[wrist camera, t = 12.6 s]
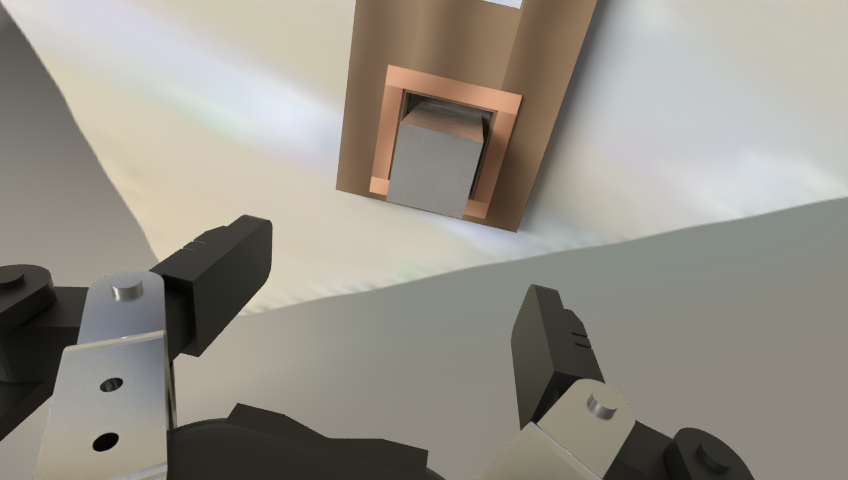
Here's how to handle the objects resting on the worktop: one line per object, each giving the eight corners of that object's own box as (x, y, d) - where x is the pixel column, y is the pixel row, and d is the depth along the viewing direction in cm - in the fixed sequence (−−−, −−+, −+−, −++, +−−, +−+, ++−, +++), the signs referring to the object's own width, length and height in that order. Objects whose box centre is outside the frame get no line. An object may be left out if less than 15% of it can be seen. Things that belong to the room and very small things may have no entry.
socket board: (633, -134, 22) (653, -157, 20) (513, 219, 32) (516, 234, 30) (389, -189, 22) (377, -218, 20) (345, 179, 32) (334, 190, 30)
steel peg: (481, 115, 29) (483, 142, 21) (466, 173, 31) (462, 218, 23) (421, 100, 29) (400, 122, 21) (409, 160, 31) (386, 200, 23)
